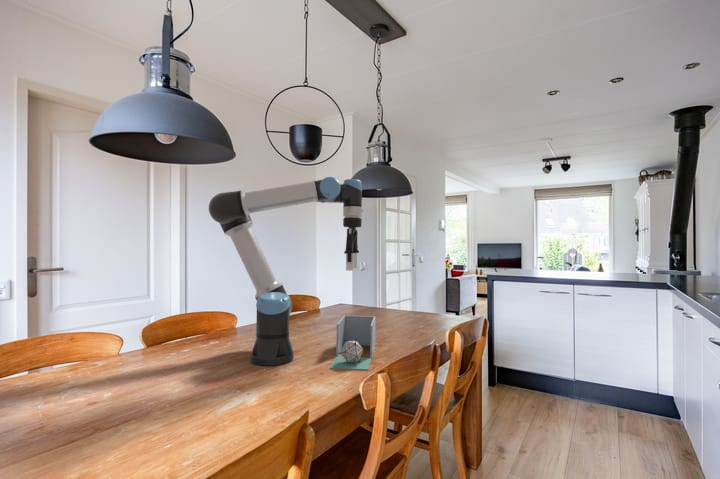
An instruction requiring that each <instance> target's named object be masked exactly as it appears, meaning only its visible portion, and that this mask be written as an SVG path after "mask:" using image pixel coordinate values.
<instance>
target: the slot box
mask: <svg viewBox="0 0 720 479" xmlns="http://www.w3.org/2000/svg"><path fill="white" fill-rule="evenodd" d="M356 339H357V342H358V343H359V344H360V346H367V347H368V346H369V347H370V349H369V350H370V351H369V354H370V356H369V358H371V359H373V355H374V352H375V348H376V316H373V315H372V316H371V315H365V316H364V315H345V314H344V315H343V316H342V317H341V318H340V320H339V321H338V322H337V323H336V344H335V345H336V347H335V348H336V352H335V353H336V354H335V355H336V356H335V358H336V357H340V354H338V353H341V350H342V348H343V345H344V343H345V342H346V341H355V340H356ZM344 340H345V342H344Z"/></svg>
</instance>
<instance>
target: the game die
mask: <svg viewBox="0 0 720 479" xmlns="http://www.w3.org/2000/svg"><path fill="white" fill-rule="evenodd" d="M344 342H345V340H344ZM364 351H366V348H363V347H362V345H360V344H359V343H358V342H357V339H356V340H355V341H346V342H345V343H344V345H343V348H342V350H341V352H340V353H338V354H339V355H341V357H344V359H345V360H346V361H347V363H346V364H348V363H349V362H355V361H359V360H360V358H362V357H361V356H362V355H363V352H364ZM359 363H360V361H359Z"/></svg>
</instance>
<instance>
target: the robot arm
mask: <svg viewBox="0 0 720 479" xmlns="http://www.w3.org/2000/svg"><path fill="white" fill-rule="evenodd" d="M362 185H363V184H362V181H361V180H360V179H356V178H350V179H349V178H347V179H344V180H343V183H342V184H341V183H340V181H339V180H338V179H337V178H335V177H333V176H326V177H324V178H323V179H318V180H313V181H307V182H300V183H295V184H289V185H283V186H277V187H272V188H265V189H260V190H259V189H258V190H254V191H248V192H246V191H244V190H237V191H236V190H235V191H228V192H227V191H226V192H220V193H217V194H216V195H214V196H213V197H212V198H211V199H210V202H209V204H208V213H209V215H210V217H211V218H212V219H213V221H215V222H217V223H218V224H219V226H220V227H221V230H222V231H223V233H224V235H226V236H228V237H230V239H231V241H232V243H233V245H234V247H235V250H236V251H237V254H238V255H239V257H240V259H241V260H240V261H241V262H242V263H243V264H242V265H243V266H244V268H245V270H246V272H247V275H248V277H249V278H250V280H251V283H252V284H253V287H254V289H255V290H256V292H255V296H254V299H255V300H256V304H255V308H256V321H255V322H256V323H255V324H256V325H255V326H256V328H255V331H256V332H255V333H256V334H255V335H256V336H255V340H254V343H253V347H252V350H251V353H250V362H251V363H252V364H254V365H258V366H267V367H268V366H280V365H284V364H287V363H290V362H292V361H293V360H294V359H295V358H294V355H295V353H294V348H293V345H292V342H291V339H290V315H291V314H292V311H293V301H292V299H291V298H292V297H290V296H289V294H288V293H287V291H286V289H285V287H284V285H283V283H282V282H281V283H280V282H279V281H277V280H276V277H275V275H274V273H273V271H272V269H271V267H270V265H269V263H268V260H267V259H266V256H265V254H264V252H263V250H262V248H261V246H260V243H259V241H258V239H257V238H256V236H255V234H254V231H253V229H252V226H253V220H252V218H251V216H250V214H252V213H259V212H265V211H270V210H274V209H275V210H276V209H280V208H286V207H291V206H297V205H303V204H309V203H313V202H314V203H315V202H316V203H321V204H322V203H323V204H324V203H328V204H329V203H331V204H332V203H338V204H339V203H340V204H341V203H343V208H342V210H343V211H342V214H343V215H342V216H343V219H342V221H343V222H342V223H343V224H342V226H343V228H346V240H345V241H346V242H345V243H346V244H345V250H344V252H343V253H344V254H345V257H346V258H345V271H349V272H350V271H351V272H352V271H354V269H358V254H359V253H360V251H359V249H358V248H359V247H358V234H359V233H358V229H357V228H361V227H362V223H363V222H362V218H361V217H362V212H364V209H362V205H363V204H362V203H363V202H362V200H363V198H362V197H363V189H362V188H363V187H362Z"/></svg>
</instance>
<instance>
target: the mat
mask: <svg viewBox="0 0 720 479" xmlns="http://www.w3.org/2000/svg"><path fill="white" fill-rule="evenodd" d="M359 361H360V363H359ZM359 361H355V362H349V363H348V364H346V363H347V361H346V360H345V359H344V357H343V356H338V357H336V356H335V358H334V360H333V362H332V364H331V365H330V367H329V369H330V370H331V369H332V370H333V369H334V370H351V371H370V366H371V364H372V362H371V361H372V358H370V357H368V358H367V357H360V360H359Z"/></svg>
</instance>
